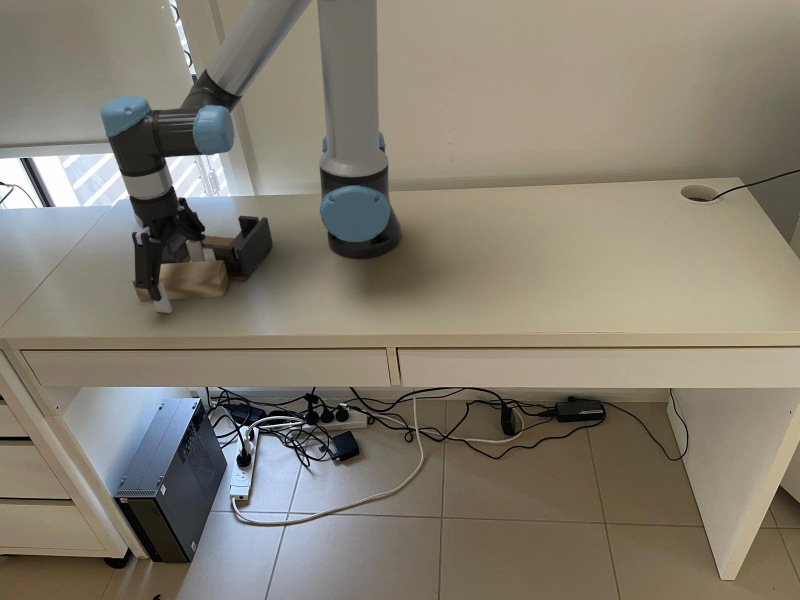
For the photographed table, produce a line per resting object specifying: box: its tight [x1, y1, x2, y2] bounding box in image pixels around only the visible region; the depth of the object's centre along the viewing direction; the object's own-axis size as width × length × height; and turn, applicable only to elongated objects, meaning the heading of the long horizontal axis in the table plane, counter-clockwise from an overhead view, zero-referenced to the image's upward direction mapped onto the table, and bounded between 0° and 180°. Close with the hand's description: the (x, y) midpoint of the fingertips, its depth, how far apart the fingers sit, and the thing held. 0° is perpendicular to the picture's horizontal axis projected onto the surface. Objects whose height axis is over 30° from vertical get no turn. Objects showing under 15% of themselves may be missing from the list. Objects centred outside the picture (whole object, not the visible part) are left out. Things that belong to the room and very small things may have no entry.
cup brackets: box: [152, 211, 274, 283], centre depth 129 cm, size 22×13×7 cm, turn 75°
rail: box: [131, 259, 230, 302], centre depth 121 cm, size 16×5×5 cm, turn 91°
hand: (183, 289), depth 122 cm, fingers open, 13 cm apart
